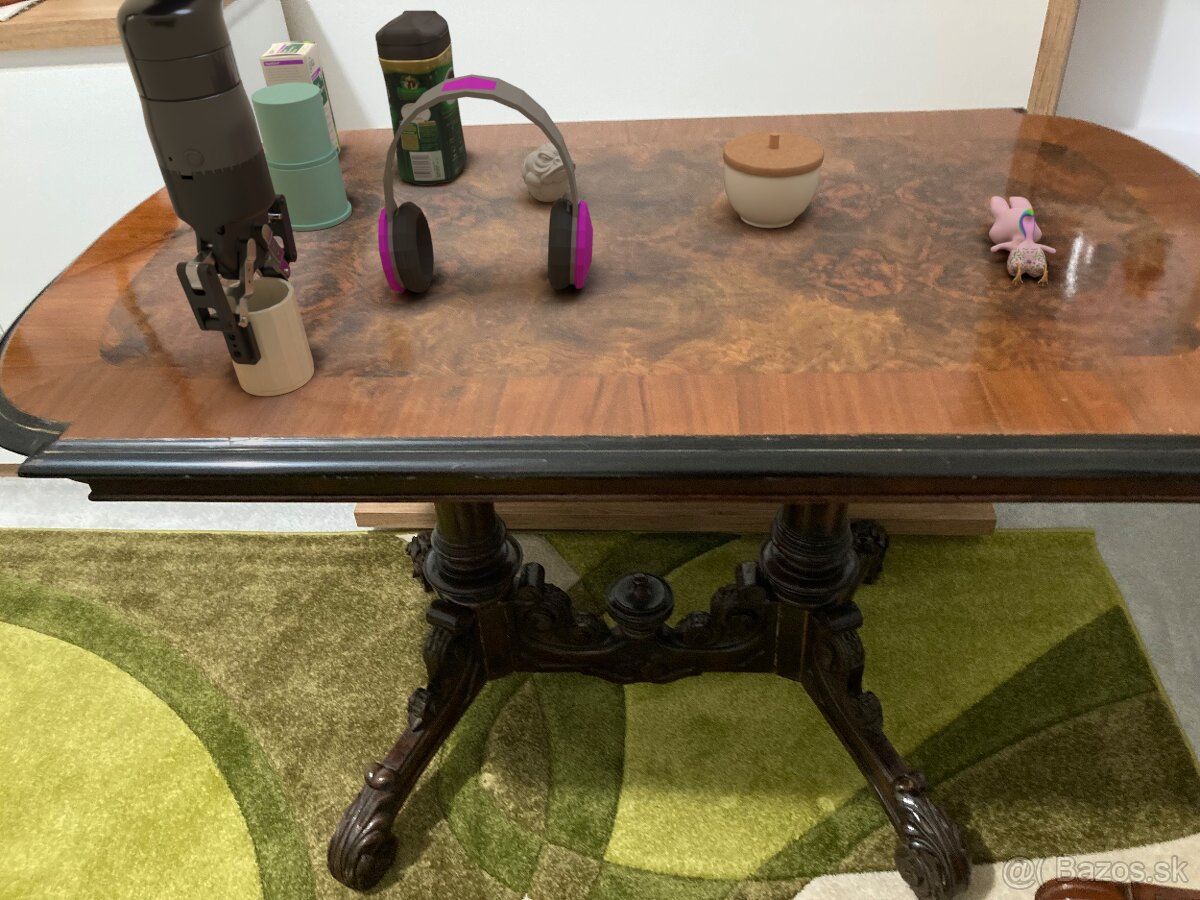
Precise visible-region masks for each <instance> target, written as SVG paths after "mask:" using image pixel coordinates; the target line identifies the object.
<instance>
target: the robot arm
mask: <svg viewBox="0 0 1200 900" xmlns="http://www.w3.org/2000/svg"><path fill="white" fill-rule="evenodd" d="M224 14H225V13H224V0H123V2H122V4H121V5H120V6H119V8H118V10H117V13H116V28H117V32H118V37H119V40H120V44H121V47H122V50H123V53H124V54H125V60H126V61H127V65H128V67H129V71H130V73H131V76H132V79H133V83H134V85H135V88H136V91H137V94H138V99H139V101H140V105H141V110H142V116H143V120H144V126H145V129H146V132H147V136H148V138H149V141H150V144H151V147H152V150H153V153H154V156H155V158H156V162H157V165H158V168H159V170H160V173H161V177H162V180H163V182H164V186H165V188H166V191H167V194H168V196H169V197H168V198H169V200H170V203H171V205H172V209H173V212H174V213H175V216H177V218H178V219H179V220H181V221H183V222H184V223H185V224H187V225H188V226H190V228H192V229H193V231H194V234H195V241H196V252H197V254H196V255H195V256H194V258H193V259H192V260H191V261H179V262H178V263H177V265H176V267H175V272H176V276H177V277H178V280H179V282H180V284H181V287H182V289H183V292H184V294H185V297H186V299H187V302H188V303H189V306H190V308H191V311H192V314H193V316H194V317H195V320H196V323H197V325H198V327H199V329H200V331H204V332H205V331H206V332H210V331H211V332H222V335H223V338H224V341H225V344H226V347H227V350H228V353H229V356H230V359H231V358H232V359H231V361H232V360H233V361H234V362H235V363H237V364H246V365H256V364H257V363H258V362H259V360H260V359H261V354H260V351H259V348H258V345H257V341H256V338H255V335H254V332H253V328H252V325H251V322H248V320H249V318H248V299H249V298H250V297H251V296H252V295H253V294H254V278H255V277H254V276H255V274H257V275H258V278H259V277H273V278H281V279H283V280H285V281H288V282H289V279H290V277H291V267H290V264H291V263H296V262H297V260H298V251H297V247H296V246H297V245H296V241H295V236H294V232H293V231H294V230H292V227H291V222H290V217H289V212H288V208H287V203H286V198H285V196H284V195H283V194H275V191H274V187H273V183H272V180H271V176H270V172H269V168H268V165H267V161H266V157H265V149H264V145H263V141H262V137H261V134H260V130H259V126H258V122H257V118H256V114H255V111H254V108H253V105H252V104H251V101H250V98H249V96H248V94H247V92H246V89H245V86H244V84H243V80H242V77H241V74H240V70H239V66H238V62H237V58H236V55H235V51H234V47H233V43H232V40H231V36H230V33H229V30H228V26H227V23H226V20H225V15H224ZM275 237H279V238H280V239H281V240H282V245H283V247H281V245H280V244H279V242H278V241H277V240H276V238H275ZM222 279H224V280H228V281H240V283H239V285H238V286H237V287H229V286H230V285H228V286H227V285H223V284H222V282H221V280H222ZM227 296H232V297H234V299H235V311H232V310H231V308H230V305H229V303H228V300H227ZM209 309H211V313H210V310H209Z"/></svg>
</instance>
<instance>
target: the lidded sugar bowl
mask: <svg viewBox="0 0 1200 900" xmlns="http://www.w3.org/2000/svg"><path fill="white" fill-rule="evenodd" d="M722 149H723V151H722V159H723V168H722V169H723V170H722V172H723V173H722V175H723V185H724V186H723V187H724V191H725V195H726V198H727V201H728V202H729V204H730V206H731V207H732V209H733V210H734V212H736V213H737V214H738V215H739V217H740V219H741V221H743V223H745V224H747V225H750V226H752V227H757V228H761V229H778V228H783V227H787V226H789V225H791V224H792V223H793V222H794V221H795V220H796V218H798V217H799V216H800V215H802V214H803V212H805V211H806V209H808V207H809V205H810V204H811V203H812V201H813V199H814V198H815V195H816V193H817V190H818V186H819V182H820V178H821V173H822V168H823V167H822V166H823V163H824V158H825V149H824V148H823V146H822V145H821V144H820V143H819V142H817V141H816V140H814V139H813V138H810V137H807V136H805V135H800V134H796V133H795V134H794V133H791V132H782V131H781V132H780V131H760V132H752V133H751V132H750V133H745V134H742V135H739V136H736V137H734V138H732V139H730V140H728V142H726V143H725V144H724V147H723V148H722Z"/></svg>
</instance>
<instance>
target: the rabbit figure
mask: <svg viewBox="0 0 1200 900" xmlns="http://www.w3.org/2000/svg"><path fill="white" fill-rule="evenodd" d="M989 209H990V210H989V211H990V213H991V216H992V218H993V219H994V223H993V224H992V227H991V228H990V230H989V232H988V236H989V239H991V241H992V242H993V243H994V244H995V245H993V246H992V247H990V252H991V253H997V251H998V250H1005V251H1009V255H1008V257H1007V262H1006V269H1007V273H1008V274H1009V275H1010V276H1012V277H1014V278H1013V280H1012V281H1011V282H1012V284H1013V283H1014V286H1015V287H1016V286H1017V283H1018V282H1021V283H1022V284H1023V282H1024V281H1023V280H1022V275H1024V274H1027V275H1029V276H1030V277H1032V278H1038V277H1041V276H1042V277H1041V279H1039V281H1037V284H1039V283H1041V285H1042V287H1044V283H1046V284H1047V285H1048V284H1049V283H1048V281H1049V280H1048V273H1049V271H1048V270H1047V269H1048V268H1047V267H1048V264H1047V260H1046V254H1045V252H1046V253H1048V254H1051V255H1055V254H1056V253H1057V250H1056V249H1055V248H1053V247H1051V246H1047V245H1045V244H1040V243H1037V242H1039V241H1040V240H1041V238H1042V236H1043V233H1042V231H1041V228H1040V227H1039V226H1038V224H1037V222H1036V217H1035V216H1036V215H1035V211H1034V209H1033V206H1032V204H1031V202H1030V201H1029V200H1028V199H1027V198H1025V197H1023V196H1010V197H1009V204H1008V203H1007V201H1006V200H1005V198H1003V197H1001V196H998V195H994V196H992V197H991V198H990V203H989Z"/></svg>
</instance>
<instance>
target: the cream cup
mask: <svg viewBox="0 0 1200 900" xmlns="http://www.w3.org/2000/svg"><path fill="white" fill-rule="evenodd" d="M239 283H240V280H238V281H237V282H234V283H232V284H230V285H228V286H229V287H237V286H238V285H239ZM227 300H228V303H229V305H230V308H231V310H232V311H235V299H234V297H232V296H227ZM248 318H249V320H248V322H251V325H252V328H253V332H254V335H255V338H256V341H257V345H258V348H259V351H260V354H261V359H260V360H259V362H258V363H257V364H256V365H246V364H237V363H235V362H234V361H233V360H232V358H231V357H230V360H231V363H232V365H233V368H234V372H235V374H236V378H237V380H238V383H239V386H240V388H241V389H242V390H243V391H245V392H246V393H247V394H250V395H253V396H257V397H274V396H280V395H285V394H288V393H291V392H294V391H296V390H298V389H300V388H301V387H303V386H304V385H306V384H308V382H310V380H311V379H312V378H313V376H314V373H315V365H314V364H315V362H314V358H313V355H312V351H311V348H310V344H309V340H308V337H307V333H306V329H305V326H304V322H303V317H302V313H301V310H300V307H299V302H298V299H297V296H296V291H295V288H294V287H293V285H292V283H291V282H290V281H289V280H288V281H285V280H283V279H281V278H273V277H259V276H258V277H254V294H253V295H252V296H251V297H250V298H249V299H248Z"/></svg>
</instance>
